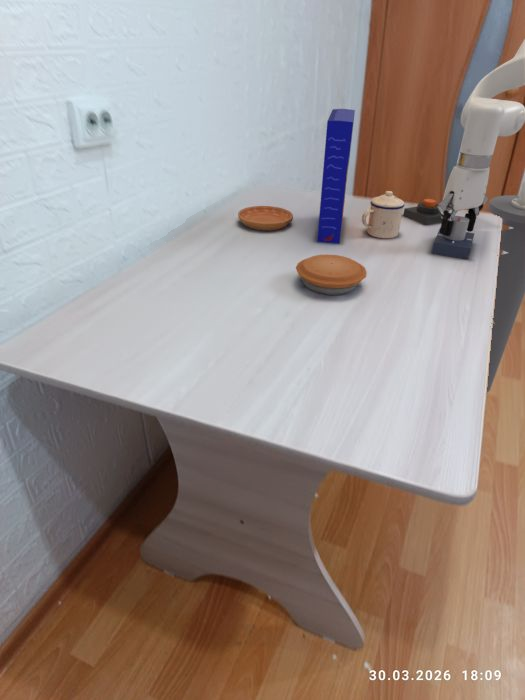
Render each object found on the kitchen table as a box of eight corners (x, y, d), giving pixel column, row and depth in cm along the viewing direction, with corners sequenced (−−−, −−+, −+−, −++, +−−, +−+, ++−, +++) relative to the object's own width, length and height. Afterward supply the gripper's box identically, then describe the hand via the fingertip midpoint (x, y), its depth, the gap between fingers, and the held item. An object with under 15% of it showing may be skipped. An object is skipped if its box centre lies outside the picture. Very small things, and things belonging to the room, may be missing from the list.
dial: (446, 233, 128) (451, 213, 125) (465, 236, 126) (470, 216, 124) (444, 238, 124) (448, 218, 121) (463, 241, 123) (468, 221, 120)
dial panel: (437, 238, 133) (439, 227, 131) (471, 243, 130) (474, 232, 128) (431, 253, 124) (434, 241, 122) (467, 259, 121) (471, 247, 119)
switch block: (426, 211, 154) (429, 198, 151) (450, 220, 146) (453, 207, 144) (403, 215, 150) (405, 202, 147) (425, 225, 142) (428, 211, 140)
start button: (429, 203, 148) (430, 198, 147) (437, 207, 145) (438, 201, 144) (420, 205, 147) (421, 199, 146) (428, 208, 144) (430, 202, 143)
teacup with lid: (386, 226, 141) (392, 185, 134) (405, 236, 134) (413, 194, 127) (351, 231, 137) (356, 189, 130) (369, 242, 130) (375, 199, 123)
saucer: (295, 217, 146) (295, 207, 145) (289, 235, 133) (289, 224, 131) (243, 213, 148) (243, 203, 146) (233, 230, 135) (232, 220, 133)
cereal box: (339, 243, 128) (353, 121, 112) (317, 241, 129) (327, 119, 113) (342, 218, 146) (355, 109, 130) (323, 216, 147) (332, 108, 131)
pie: (288, 294, 103) (289, 273, 100) (302, 266, 115) (303, 246, 113) (360, 304, 100) (364, 282, 97) (367, 274, 112) (370, 254, 109)
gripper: (486, 154, 121) (468, 223, 131) (435, 160, 114) (420, 232, 124) (511, 161, 116) (490, 232, 125) (459, 167, 109) (442, 242, 118)
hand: (456, 231), depth 125 cm, fingers open, 7 cm apart
